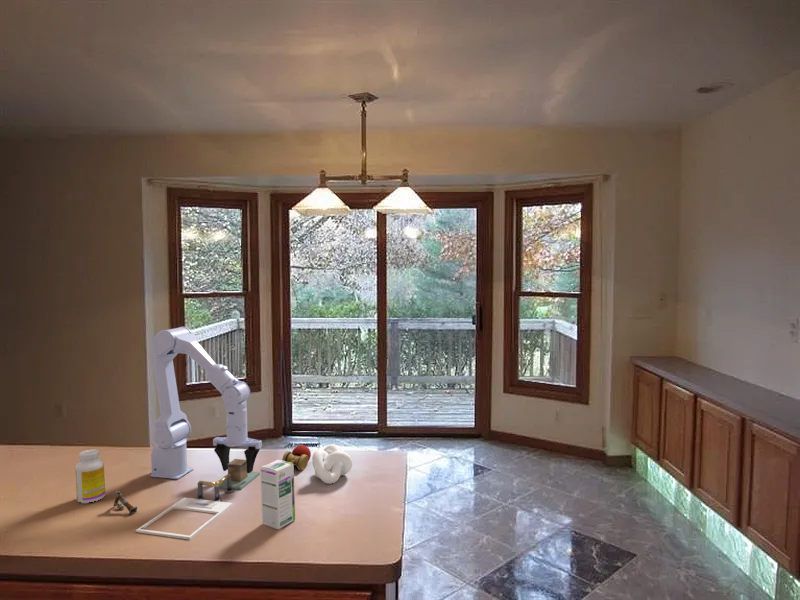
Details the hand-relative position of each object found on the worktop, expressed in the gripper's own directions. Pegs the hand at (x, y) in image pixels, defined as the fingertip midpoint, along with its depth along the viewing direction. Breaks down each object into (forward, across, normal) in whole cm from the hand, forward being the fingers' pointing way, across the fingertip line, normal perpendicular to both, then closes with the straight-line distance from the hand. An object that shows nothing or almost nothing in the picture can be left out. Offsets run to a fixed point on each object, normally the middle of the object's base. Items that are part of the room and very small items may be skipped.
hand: (238, 470), depth 155 cm
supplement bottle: (+3, -32, -20) cm, 38 cm away
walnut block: (+2, 0, 0) cm, 2 cm away
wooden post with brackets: (+3, -19, -24) cm, 30 cm away
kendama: (+3, +12, +10) cm, 16 cm away
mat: (+3, 0, 0) cm, 3 cm away
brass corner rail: (+3, 0, -10) cm, 11 cm away
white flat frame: (+4, -1, -23) cm, 24 cm away
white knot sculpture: (+3, +26, +8) cm, 28 cm away
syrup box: (+3, +22, -20) cm, 31 cm away
